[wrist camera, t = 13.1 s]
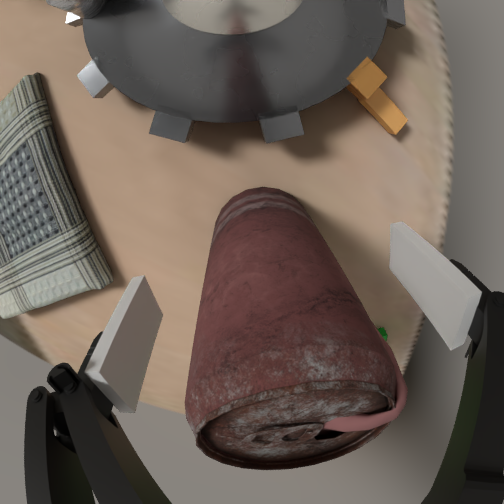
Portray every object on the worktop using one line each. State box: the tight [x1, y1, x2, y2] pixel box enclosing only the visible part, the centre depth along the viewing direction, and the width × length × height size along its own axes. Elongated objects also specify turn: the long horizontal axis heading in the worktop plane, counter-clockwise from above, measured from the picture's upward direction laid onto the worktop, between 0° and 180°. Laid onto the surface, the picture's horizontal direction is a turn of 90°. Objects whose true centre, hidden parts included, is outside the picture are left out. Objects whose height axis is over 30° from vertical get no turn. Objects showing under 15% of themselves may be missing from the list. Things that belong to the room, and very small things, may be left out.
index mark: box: [358, 87, 408, 135], centre depth 14 cm, size 3×1×1 cm, turn 52°
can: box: [185, 187, 408, 470], centre depth 12 cm, size 6×6×14 cm
